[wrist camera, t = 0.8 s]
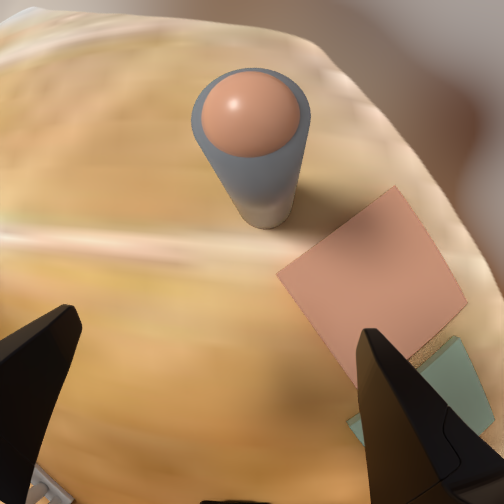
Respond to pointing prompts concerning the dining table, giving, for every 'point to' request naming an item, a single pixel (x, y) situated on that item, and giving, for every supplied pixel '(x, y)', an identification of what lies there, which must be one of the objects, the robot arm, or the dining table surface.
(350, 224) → the terracotta tile
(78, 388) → the dining table surface
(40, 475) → the test tube rack
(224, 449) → the dining table surface
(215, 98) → the tube
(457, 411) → the sage tile
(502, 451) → the dining table surface
